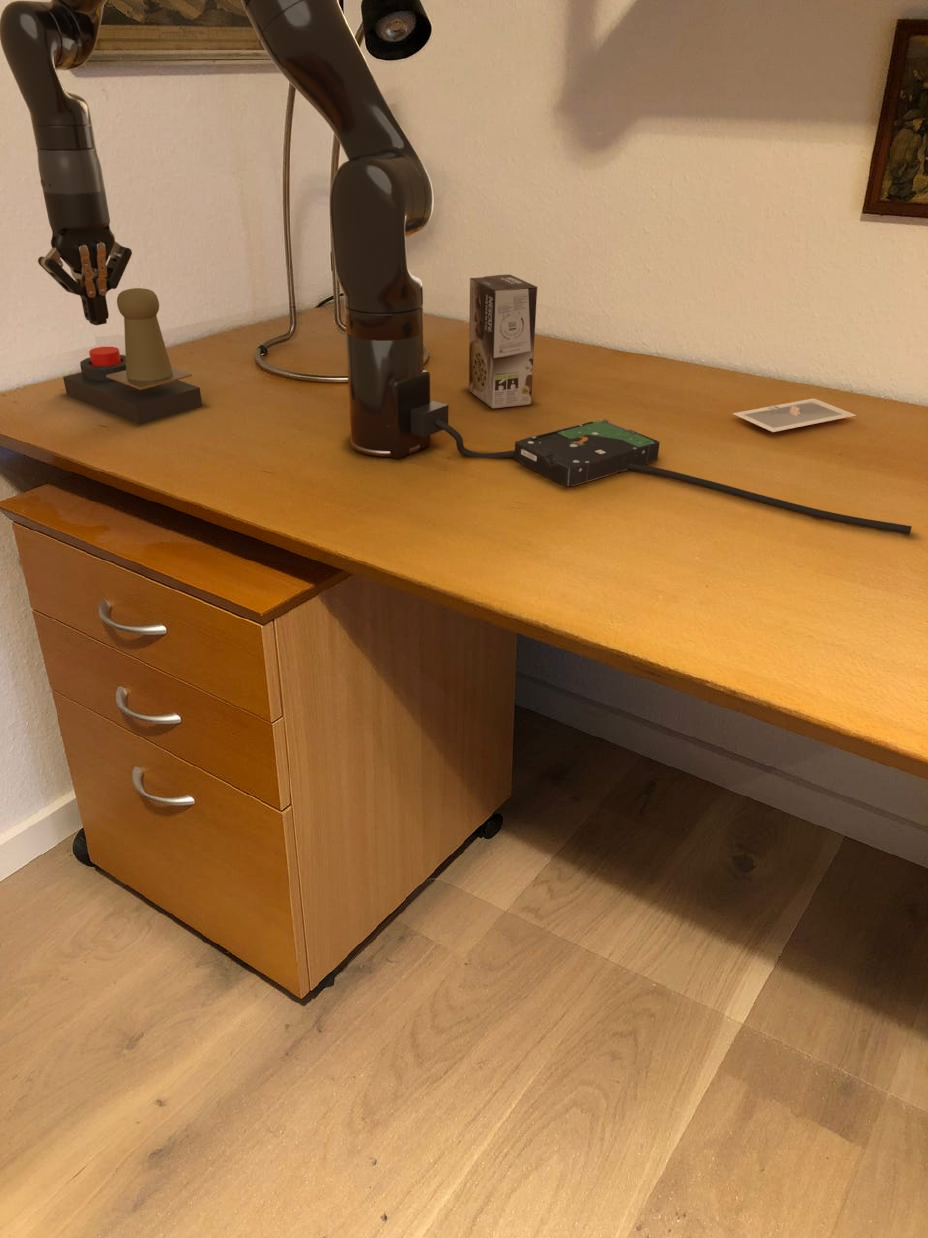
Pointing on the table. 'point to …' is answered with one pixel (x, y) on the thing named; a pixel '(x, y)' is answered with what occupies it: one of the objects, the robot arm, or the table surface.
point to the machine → (130, 394)
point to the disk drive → (585, 452)
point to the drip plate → (147, 384)
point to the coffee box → (501, 340)
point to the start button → (104, 356)
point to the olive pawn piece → (143, 336)
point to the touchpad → (793, 414)
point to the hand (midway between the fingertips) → (98, 323)
